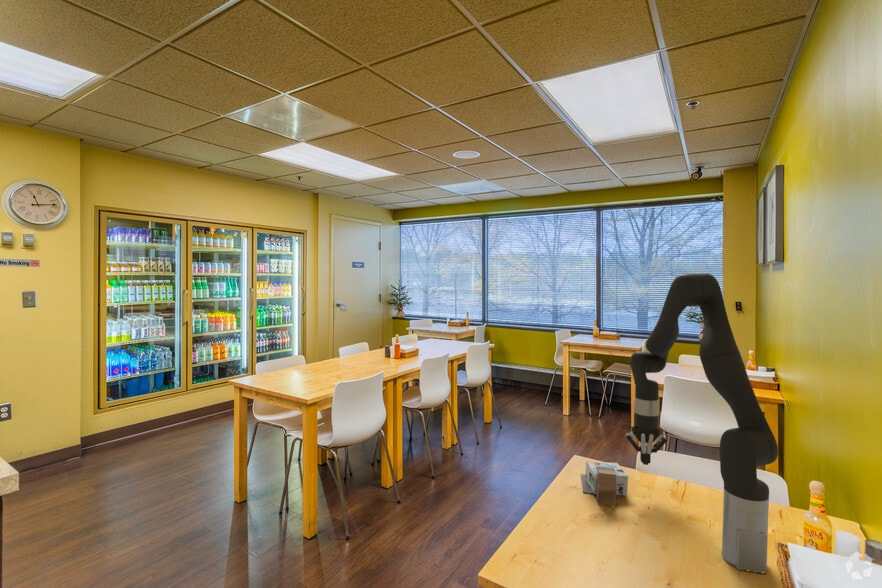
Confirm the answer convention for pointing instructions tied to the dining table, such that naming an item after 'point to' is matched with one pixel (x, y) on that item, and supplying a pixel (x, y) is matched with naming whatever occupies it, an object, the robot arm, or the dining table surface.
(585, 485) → the mat
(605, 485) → the walnut block
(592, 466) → the light bulb box
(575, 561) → the dining table surface
